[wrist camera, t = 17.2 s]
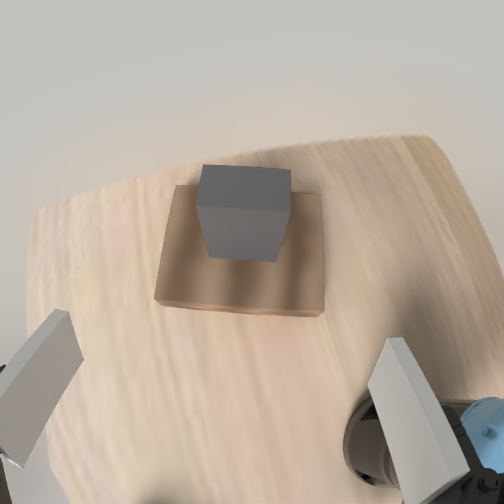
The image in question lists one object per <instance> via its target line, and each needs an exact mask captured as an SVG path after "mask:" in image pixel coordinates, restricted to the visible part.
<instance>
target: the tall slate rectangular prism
mask: <svg viewBox="0 0 504 504" xmlns="http://www.w3.org/2000/svg"><path fill="white" fill-rule="evenodd" d="M196 209H197V213H198V217H199V221H200V225H201V229H202V233H203V236H204V240H205V244H206V248H207V251H208V255H209V258H221V259H236V260H251V261H266V262H276V260H277V256H278V253H279V250H280V246H281V243H282V240H283V237H284V233H285V230H286V227H287V223H288V220H289V217H290V213H291V176H290V170H286V169H274V168H261V167H246V166H228V165H203V168H202V174H201V179H200V184H199V190H198V195H197V201H196Z"/></svg>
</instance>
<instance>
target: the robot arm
mask: <svg viewBox="0 0 504 504" xmlns="http://www.w3.org/2000/svg"><path fill="white" fill-rule="evenodd" d="M83 360H84V359H83V356H82V353H81V350H80V347H79V344H78V341H77V338H76V335H75V332H74V329H73V325H72V322H71V319H70V315H69V312H68V311H63V310H58V309H55V310H54V311H53V312H52V313H51V314H50V315H49V316H48V318H47V319H46V320H45V321H44V322H43V323H42V324H41V325H40V326H39V328H38V329H37V330H36V331H35V332H34V333H33V334H32V335H31V337H30V338H29V339H28V340H27V341H26V342H25V344H24V345H23V346H22V347H21V348H20V350H19V351H18V352H17V353H16V354H15V356H14V357H13V358H12V359H11V360H10V362H9V363H8V364H7V365H3V366H1V367H0V453H2V454H3V455H4V456H5V457H6V458H7V459H8V460H9V461H10V462H12V463H14V464H15V465H17V466H18V467H20V468H23V467H24V465H25V463H26V461H27V459H28V457H29V455H30V453H31V451H32V449H33V447H34V445H35V443H36V441H37V439H38V437H39V435H40V434H41V432H42V430H43V428H44V426H45V424H46V422H47V421H48V419H49V417H50V415H51V413H52V412H53V410H54V408H55V406H56V405H57V403H58V401H59V399H60V398H61V396H62V394H63V393H64V391H65V389H66V388H67V386H68V384H69V383H70V381H71V379H72V378H73V376H74V374H75V373H76V371H77V370H78V368H79V366H80V365H81V363H82V362H83ZM367 385H368V388H369V391H370V393H371V396H369V397H368V398H367V399H366V400H365V401H364V402H363V403H362V404H361V405H360V406H359V407H358V409H357V410H356V411H355V413H354V414H353V416H352V418H351V419H350V421H349V424H348V426H347V429H346V432H345V436H344V442H343V452H344V458H345V461H346V464H347V466H348V467H349V469H350V470H351V472H352V473H353V474H354V475H356V476H357V477H358V478H359V479H361V480H362V481H363V482H365V483H367V484H370V485H373V486H377V487H394V488H398V489H400V490H401V492H402V496H403V500H402V504H504V399H500V398H498V397H487V398H482V399H480V400H461V399H441V398H440V397H438V396H437V395H435V394H434V392H433V391H432V389H431V387H430V385H429V383H428V381H427V379H426V377H425V376H424V374H423V372H422V370H421V368H420V367H419V365H418V363H417V361H416V359H415V358H414V356H413V354H412V352H411V351H410V349H409V347H408V346H407V344H406V342H405V340H404V339H403V337H392V338H387V339H386V341H385V344H384V346H383V349H382V351H381V354H380V356H379V358H378V361H377V363H376V366H375V368H374V370H373V372H372V375H371V377H370V379H369V381H368V384H367ZM0 504H12V501H11V498H10V494H9V491H8V487H7V482H6V478H5V473H4V470H3V465H2V461H1V458H0Z"/></svg>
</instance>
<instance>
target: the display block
mask: <svg viewBox="0 0 504 504" xmlns="http://www.w3.org/2000/svg"><path fill="white" fill-rule="evenodd" d="M198 190H199V186H185V185H176V187H175V191H174V195H173V200H172V204H171V209H170V213H169V218H168V223H167V228H166V233H165V238H164V243H163V249H162V254H161V260H160V265H159V271H158V277H157V284H156V290H155V297H154V299H155V300H156V301H157V302H158V303H160V304H161V305H162V306H167V307H176V308H186V309H196V310H207V311H219V312H231V313H245V314H260V315H278V316H299V317H317V316H318V315H320V314H321V313H322V312H324V259H323V232H322V212H321V196H320V195H317V194H307V193H296V192H291V213H290V217H289V220H288V223H287V227H286V230H285V233H284V237H283V240H282V243H281V246H280V250H279V253H278V256H277V260H276V262H266V261H251V260H236V259H221V258H209V255H208V251H207V248H206V244H205V240H204V236H203V233H202V229H201V225H200V221H199V217H198V213H197V209H196V201H197V195H198Z"/></svg>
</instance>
